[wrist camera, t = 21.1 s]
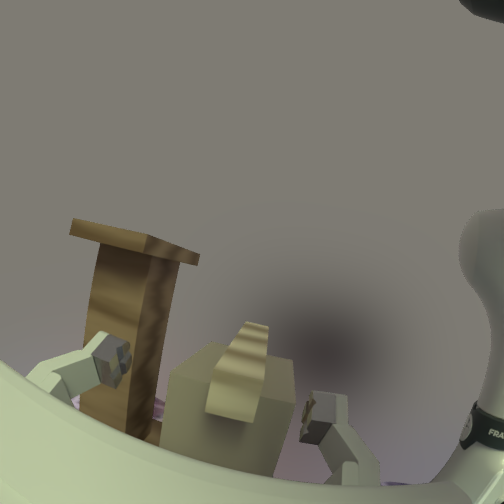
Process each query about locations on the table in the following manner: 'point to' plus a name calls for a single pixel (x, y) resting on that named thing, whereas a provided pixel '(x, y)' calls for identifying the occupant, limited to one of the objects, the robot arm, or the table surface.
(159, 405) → the table surface
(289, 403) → the tower top block
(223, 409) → the batten
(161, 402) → the table surface
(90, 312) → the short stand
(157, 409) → the table surface
